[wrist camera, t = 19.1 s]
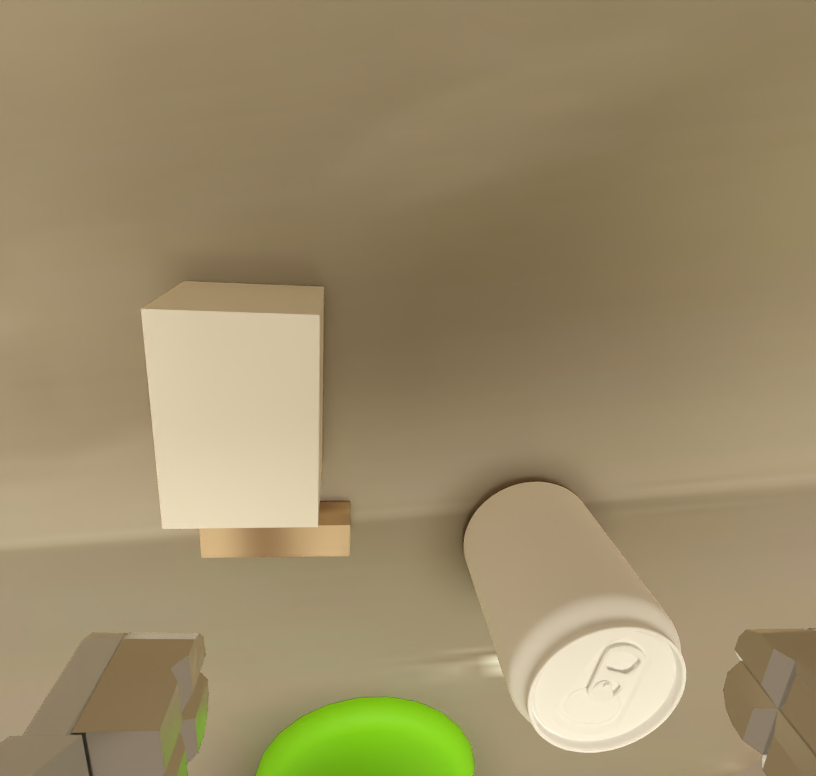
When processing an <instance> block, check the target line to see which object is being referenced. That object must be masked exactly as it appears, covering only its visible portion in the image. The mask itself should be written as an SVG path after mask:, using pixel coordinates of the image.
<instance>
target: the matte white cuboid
mask: <svg viewBox="0 0 816 776" xmlns="http://www.w3.org/2000/svg"><path fill="white" fill-rule="evenodd" d="M141 315H142V325H143V335H144V346H145V356H146V366H147V376H148V386H149V397H150V407H151V417H152V427H153V437H154V448H155V458H156V468H157V478H158V489H159V499H160V509H161V519H162V529H196V528H286V527H318V521H319V505H320V490H321V474H322V444H323V350H324V287H321V286H296V285H272V284H247V283H222V282H197V281H183V282H182V283H180V284H179V285H177V286H176V287H174V288H172V289H171V290H169V291H168V292H166V293H165V294H163V295H162V296H160V297H159V298H157V299H155V300H154V301H152V302H151V303H149V304H148V305H146V306H145V307H143V308H141Z"/></svg>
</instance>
